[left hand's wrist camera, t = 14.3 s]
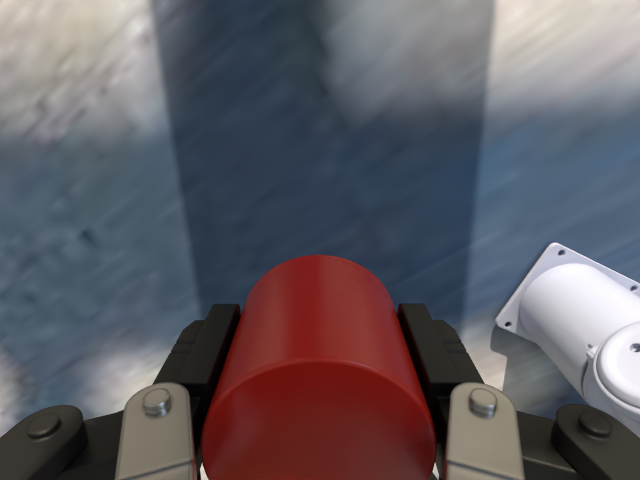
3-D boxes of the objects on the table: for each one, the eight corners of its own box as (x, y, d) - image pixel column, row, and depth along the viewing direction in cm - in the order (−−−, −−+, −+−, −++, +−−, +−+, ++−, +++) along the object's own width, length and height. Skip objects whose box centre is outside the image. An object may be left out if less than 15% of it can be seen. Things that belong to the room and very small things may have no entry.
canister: (221, 355, 13) (168, 499, 9) (277, 228, 12) (250, 321, 7) (353, 404, 14) (370, 561, 9) (423, 290, 12) (484, 411, 8)
